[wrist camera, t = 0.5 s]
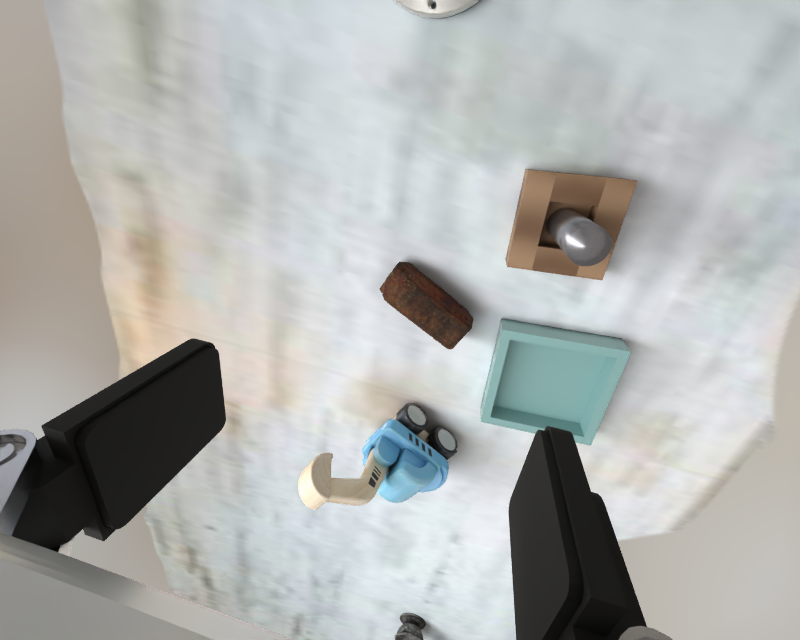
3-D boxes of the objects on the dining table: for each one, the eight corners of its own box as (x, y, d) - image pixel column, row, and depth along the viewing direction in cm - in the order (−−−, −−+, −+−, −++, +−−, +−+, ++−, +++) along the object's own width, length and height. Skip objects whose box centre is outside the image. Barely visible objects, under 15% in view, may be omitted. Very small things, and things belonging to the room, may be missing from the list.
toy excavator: (372, 367, 48) (318, 465, 33) (464, 439, 50) (453, 564, 34) (339, 402, 52) (278, 504, 37) (426, 468, 53) (402, 591, 38)
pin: (550, 206, 34) (573, 222, 25) (583, 209, 34) (618, 228, 25) (542, 236, 35) (561, 263, 26) (574, 241, 35) (603, 269, 26)
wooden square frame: (525, 169, 34) (528, 170, 31) (625, 178, 33) (637, 180, 30) (505, 259, 38) (507, 266, 35) (593, 271, 37) (602, 280, 34)
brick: (474, 312, 41) (473, 329, 37) (453, 334, 43) (449, 352, 39) (403, 256, 41) (394, 267, 36) (385, 281, 42) (373, 294, 38)
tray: (501, 318, 41) (502, 329, 38) (621, 338, 39) (631, 351, 36) (480, 406, 47) (480, 421, 44) (584, 428, 44) (590, 445, 42)
